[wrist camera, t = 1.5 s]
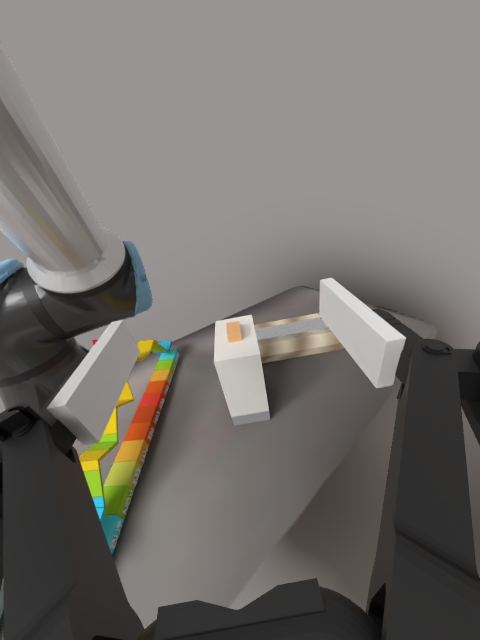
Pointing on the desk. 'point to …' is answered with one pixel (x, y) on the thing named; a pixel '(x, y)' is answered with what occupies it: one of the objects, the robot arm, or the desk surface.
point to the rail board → (297, 343)
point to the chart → (128, 443)
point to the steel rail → (291, 331)
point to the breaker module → (240, 370)
